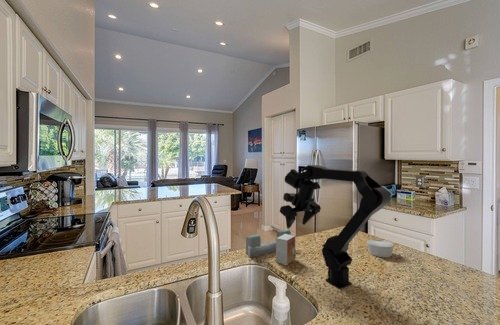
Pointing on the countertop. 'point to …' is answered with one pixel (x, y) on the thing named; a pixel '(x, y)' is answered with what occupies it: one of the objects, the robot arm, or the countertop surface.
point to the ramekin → (380, 247)
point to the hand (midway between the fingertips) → (295, 226)
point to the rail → (262, 249)
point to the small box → (285, 249)
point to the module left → (252, 241)
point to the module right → (283, 232)
